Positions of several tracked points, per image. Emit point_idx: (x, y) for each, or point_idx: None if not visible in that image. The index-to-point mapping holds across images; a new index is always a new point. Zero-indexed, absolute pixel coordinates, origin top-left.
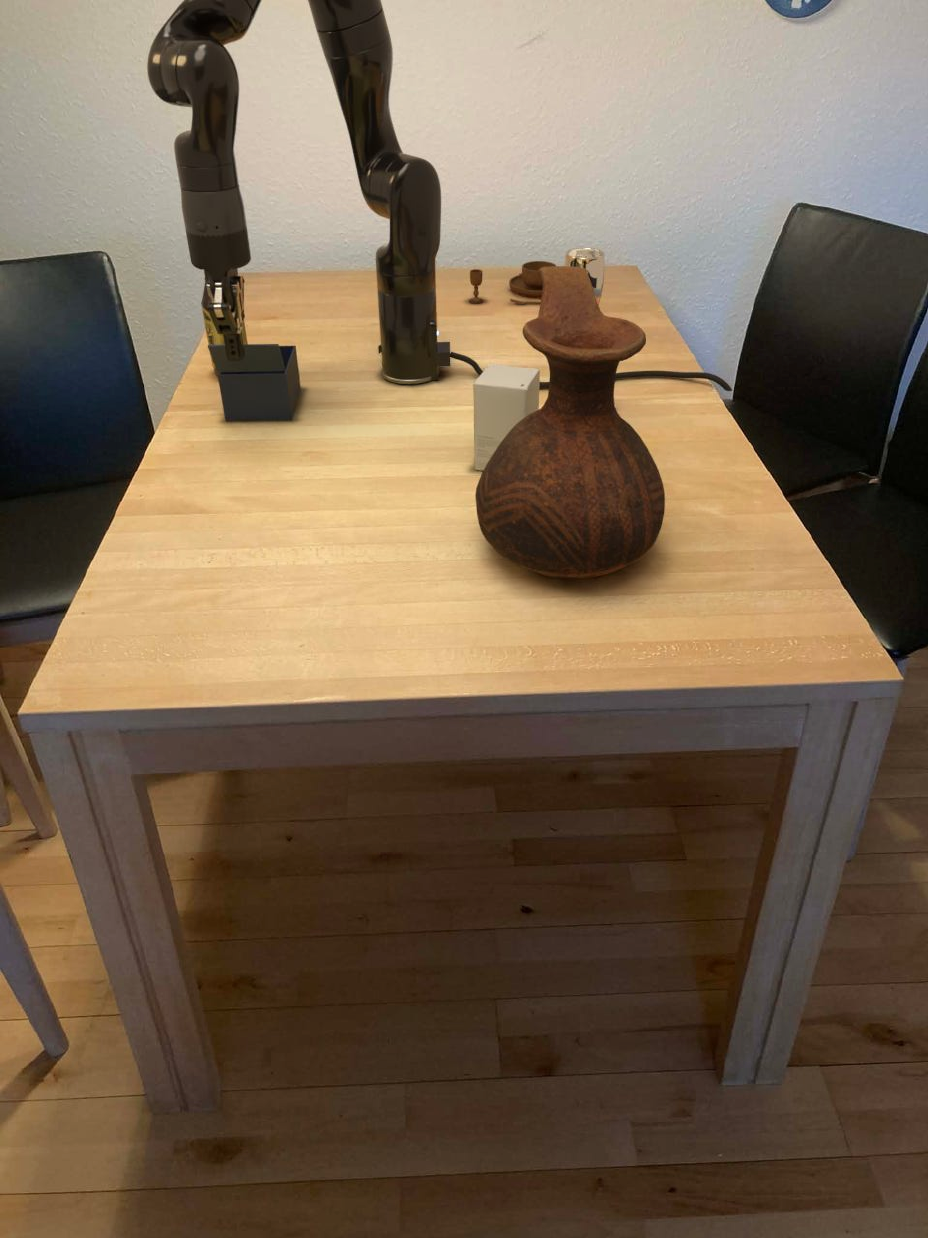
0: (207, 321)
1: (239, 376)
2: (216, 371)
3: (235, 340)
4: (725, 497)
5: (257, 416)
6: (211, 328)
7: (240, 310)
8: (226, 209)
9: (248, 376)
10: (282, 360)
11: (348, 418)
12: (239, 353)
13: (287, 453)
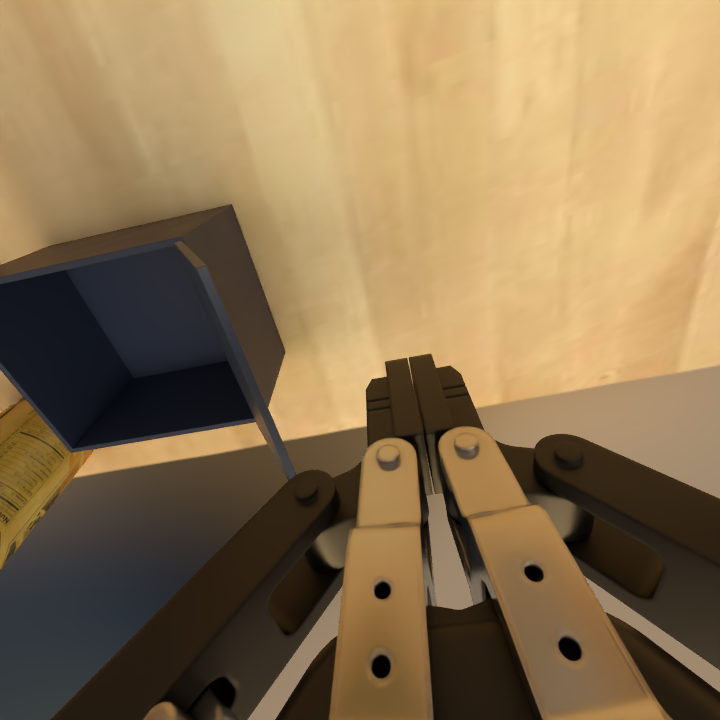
0: (18, 545)
1: None
2: None
3: (480, 422)
4: None
5: (259, 291)
6: (30, 523)
7: (509, 540)
8: None
9: None
10: (187, 248)
11: (151, 11)
12: (440, 377)
13: (420, 145)
